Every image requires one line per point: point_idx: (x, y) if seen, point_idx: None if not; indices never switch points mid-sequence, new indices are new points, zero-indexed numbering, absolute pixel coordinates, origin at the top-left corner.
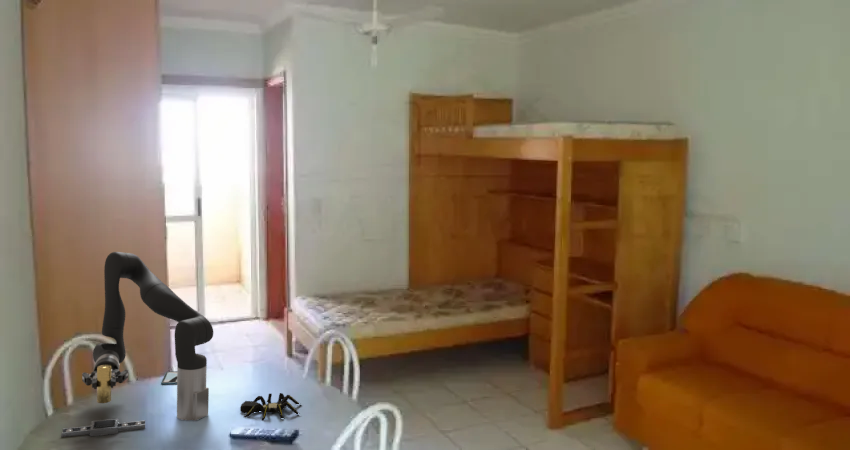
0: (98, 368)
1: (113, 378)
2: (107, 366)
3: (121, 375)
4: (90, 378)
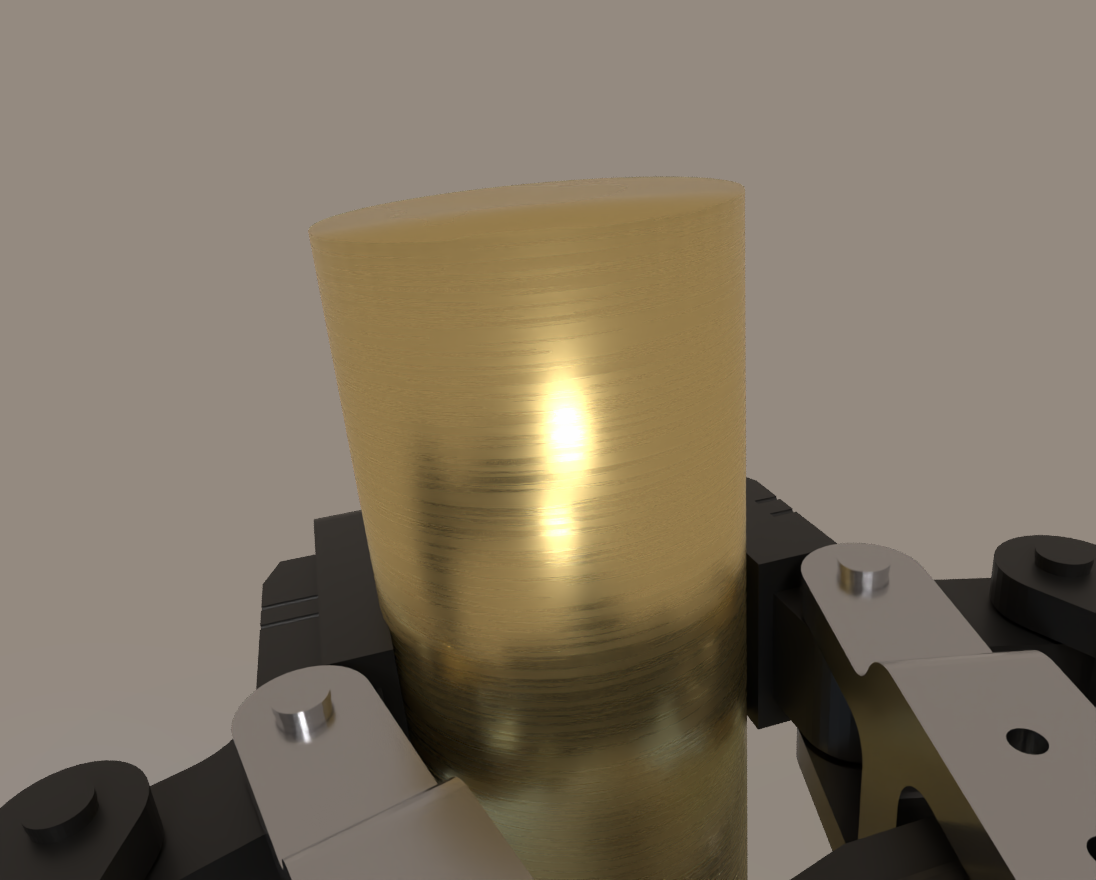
0: (632, 177)
1: (321, 635)
2: (432, 215)
3: (32, 795)
4: (991, 587)
